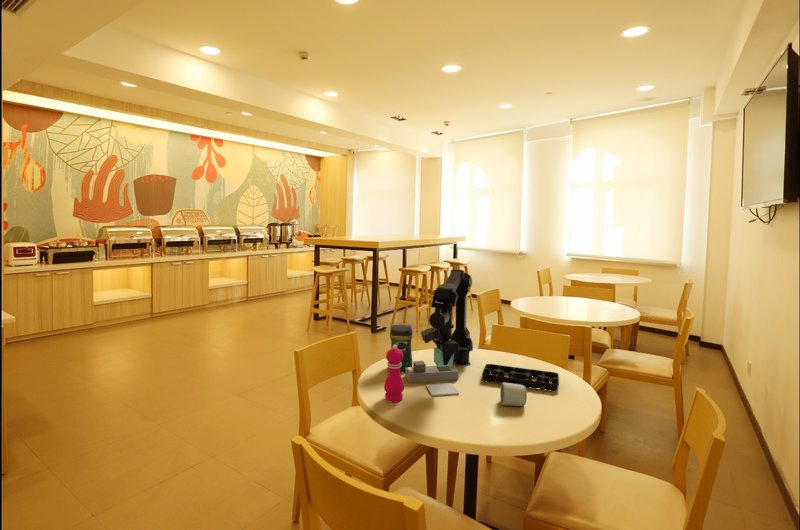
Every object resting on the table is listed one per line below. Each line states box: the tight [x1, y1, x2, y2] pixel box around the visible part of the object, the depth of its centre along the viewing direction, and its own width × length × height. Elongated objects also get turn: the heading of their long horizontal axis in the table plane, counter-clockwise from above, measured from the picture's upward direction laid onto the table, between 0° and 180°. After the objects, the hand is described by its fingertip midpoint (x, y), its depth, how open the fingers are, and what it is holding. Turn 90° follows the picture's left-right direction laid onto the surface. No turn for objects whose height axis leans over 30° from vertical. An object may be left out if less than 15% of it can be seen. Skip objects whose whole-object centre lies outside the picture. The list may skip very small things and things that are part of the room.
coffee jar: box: [389, 324, 414, 372], centre depth 191 cm, size 10×8×19 cm
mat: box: [425, 382, 460, 397], centre depth 171 cm, size 10×9×1 cm
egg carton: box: [481, 363, 560, 392], centre depth 181 cm, size 18×30×4 cm, turn 84°
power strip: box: [404, 360, 459, 384], centre depth 182 cm, size 20×7×6 cm, turn 101°
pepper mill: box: [383, 345, 405, 403], centre depth 162 cm, size 7×7×20 cm
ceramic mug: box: [499, 382, 528, 407], centre depth 161 cm, size 11×8×8 cm
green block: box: [433, 347, 454, 370], centre depth 169 cm, size 6×6×7 cm
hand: (443, 362), depth 169 cm, fingers closed on green block, 6 cm apart
